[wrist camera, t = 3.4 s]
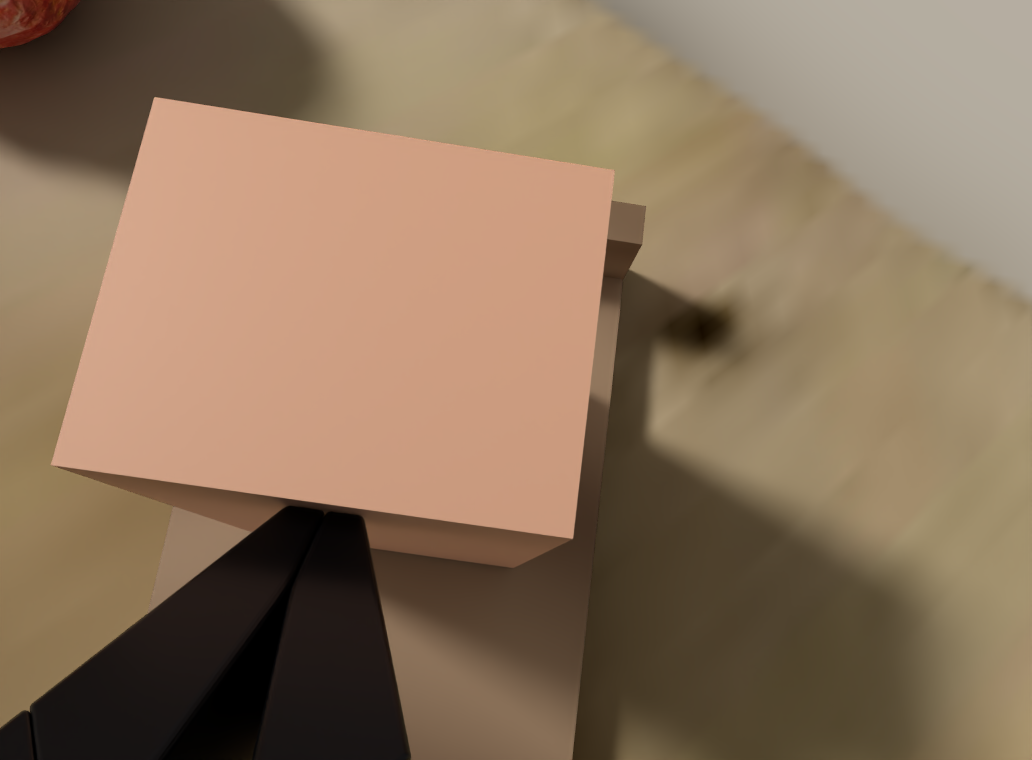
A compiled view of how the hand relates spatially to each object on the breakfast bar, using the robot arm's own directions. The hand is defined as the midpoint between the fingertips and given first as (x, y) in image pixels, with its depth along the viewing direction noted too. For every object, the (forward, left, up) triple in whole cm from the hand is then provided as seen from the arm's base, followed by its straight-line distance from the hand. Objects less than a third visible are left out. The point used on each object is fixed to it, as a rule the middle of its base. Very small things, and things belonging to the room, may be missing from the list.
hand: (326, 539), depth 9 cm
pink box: (+1, -2, -7) cm, 7 cm away
